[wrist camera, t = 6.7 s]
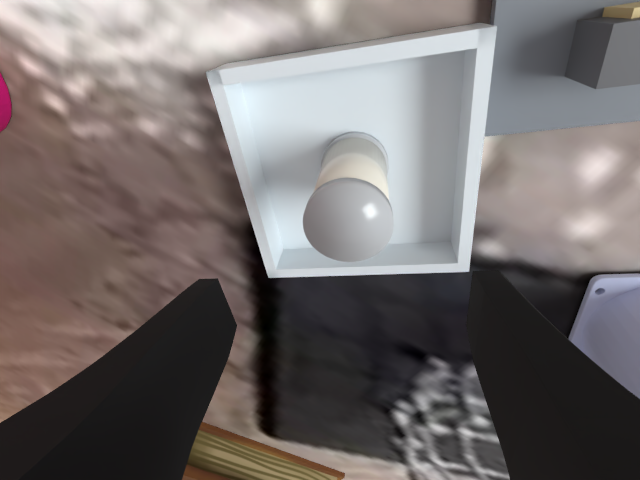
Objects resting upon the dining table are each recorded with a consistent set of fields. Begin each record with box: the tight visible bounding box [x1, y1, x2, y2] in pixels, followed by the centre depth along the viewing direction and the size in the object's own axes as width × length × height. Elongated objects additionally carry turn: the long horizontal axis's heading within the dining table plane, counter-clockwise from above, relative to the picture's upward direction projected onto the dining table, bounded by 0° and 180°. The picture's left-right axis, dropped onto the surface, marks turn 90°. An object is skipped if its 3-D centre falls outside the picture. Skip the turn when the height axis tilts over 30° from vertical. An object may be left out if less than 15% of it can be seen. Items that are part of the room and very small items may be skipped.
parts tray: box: [206, 23, 497, 278], centre depth 17 cm, size 11×11×2 cm
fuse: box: [303, 131, 394, 262], centre depth 15 cm, size 3×3×6 cm
